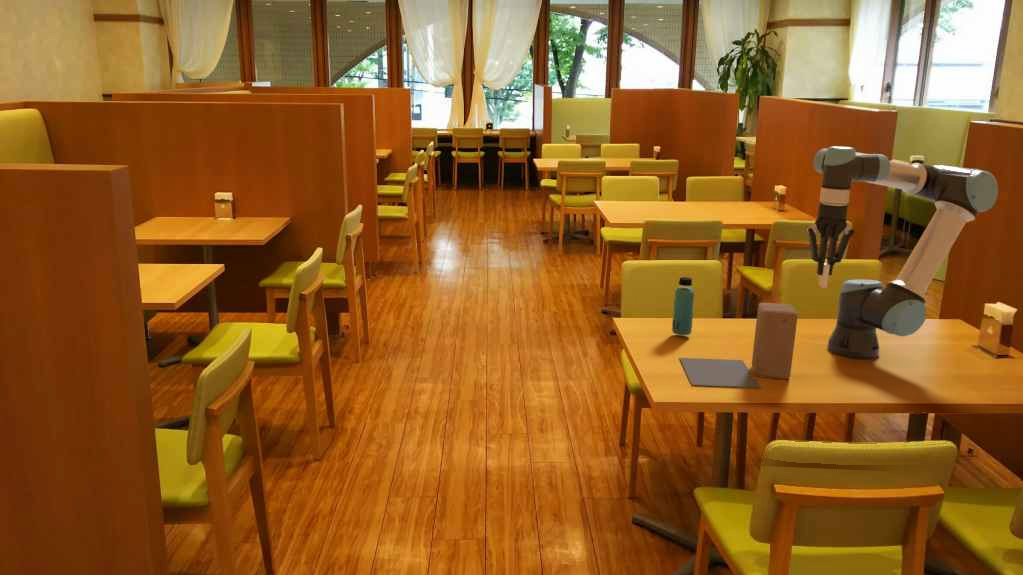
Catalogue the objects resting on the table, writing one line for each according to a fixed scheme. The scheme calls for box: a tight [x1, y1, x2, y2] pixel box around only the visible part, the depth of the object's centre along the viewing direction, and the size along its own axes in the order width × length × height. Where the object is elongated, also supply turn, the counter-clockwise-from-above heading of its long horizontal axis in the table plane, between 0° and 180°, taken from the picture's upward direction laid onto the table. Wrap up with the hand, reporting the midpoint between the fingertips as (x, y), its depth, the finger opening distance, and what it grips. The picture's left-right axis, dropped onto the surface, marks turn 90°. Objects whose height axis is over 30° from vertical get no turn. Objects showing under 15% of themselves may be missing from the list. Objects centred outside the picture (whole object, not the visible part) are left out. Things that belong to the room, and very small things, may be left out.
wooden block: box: [751, 301, 798, 380], centre depth 236 cm, size 10×10×20 cm
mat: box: [678, 357, 762, 390], centre depth 238 cm, size 19×22×1 cm
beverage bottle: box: [671, 276, 696, 336], centre depth 267 cm, size 6×7×20 cm
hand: (822, 286), depth 232 cm, fingers closed
